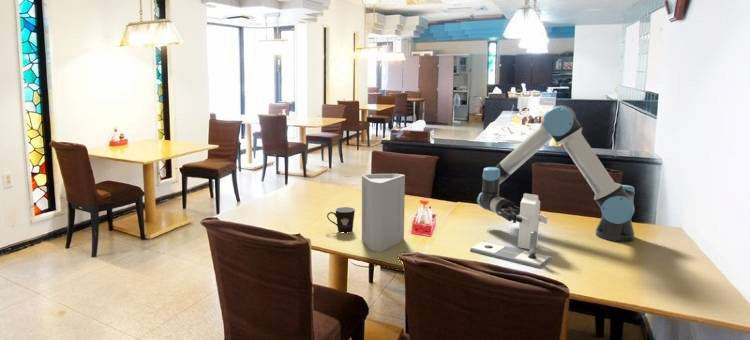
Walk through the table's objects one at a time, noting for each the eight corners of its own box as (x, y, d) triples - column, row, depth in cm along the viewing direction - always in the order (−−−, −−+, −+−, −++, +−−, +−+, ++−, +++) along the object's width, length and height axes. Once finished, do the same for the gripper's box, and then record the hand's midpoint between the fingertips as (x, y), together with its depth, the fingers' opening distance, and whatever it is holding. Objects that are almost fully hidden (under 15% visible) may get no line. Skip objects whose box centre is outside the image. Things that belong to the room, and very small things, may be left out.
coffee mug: (358, 229, 224) (358, 208, 222) (349, 235, 217) (349, 213, 215) (335, 226, 229) (335, 205, 227) (326, 231, 221) (325, 209, 219)
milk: (523, 243, 207) (526, 191, 203) (537, 246, 203) (541, 193, 199) (517, 247, 202) (520, 194, 198) (532, 250, 198) (535, 196, 194)
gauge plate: (550, 258, 190) (551, 255, 190) (539, 268, 181) (539, 264, 180) (483, 243, 207) (484, 240, 207) (470, 251, 198) (470, 247, 198)
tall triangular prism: (375, 233, 220) (375, 171, 214) (404, 239, 212) (405, 174, 206) (350, 245, 204) (349, 178, 199) (380, 252, 196) (381, 183, 191)
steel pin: (536, 257, 188) (538, 231, 186) (534, 258, 186) (535, 233, 184) (530, 255, 190) (532, 230, 188) (527, 257, 188) (529, 232, 186)
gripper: (522, 213, 221) (557, 227, 200) (481, 217, 214) (514, 233, 193) (523, 196, 220) (559, 209, 199) (482, 201, 212) (515, 214, 191)
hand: (537, 221), depth 196 cm, fingers closed on milk, 8 cm apart
